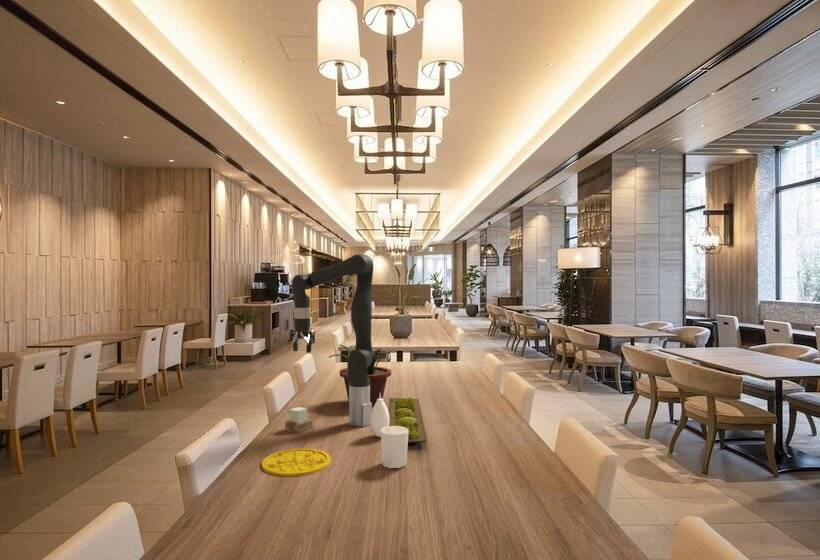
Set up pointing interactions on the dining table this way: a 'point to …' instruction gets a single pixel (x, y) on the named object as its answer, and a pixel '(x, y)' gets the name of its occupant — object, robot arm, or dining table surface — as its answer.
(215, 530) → the dining table surface
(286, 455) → the decorative medallion
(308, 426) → the tan square block
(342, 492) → the dining table surface
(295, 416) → the sage wooden cube
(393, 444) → the candle holder
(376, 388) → the potted plant
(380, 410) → the sauce bottle
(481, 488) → the dining table surface
